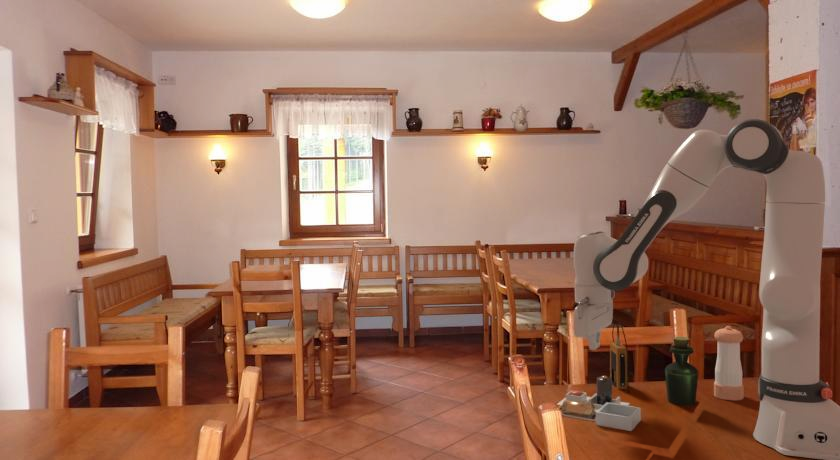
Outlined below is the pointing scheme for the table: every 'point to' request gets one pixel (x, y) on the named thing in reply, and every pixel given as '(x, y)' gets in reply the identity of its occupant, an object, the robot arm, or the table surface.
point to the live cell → (578, 409)
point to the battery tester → (589, 400)
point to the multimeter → (619, 362)
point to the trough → (578, 416)
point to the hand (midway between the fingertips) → (594, 348)
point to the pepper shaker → (728, 365)
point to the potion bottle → (681, 375)
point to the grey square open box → (618, 416)
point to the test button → (576, 393)
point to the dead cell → (604, 390)
